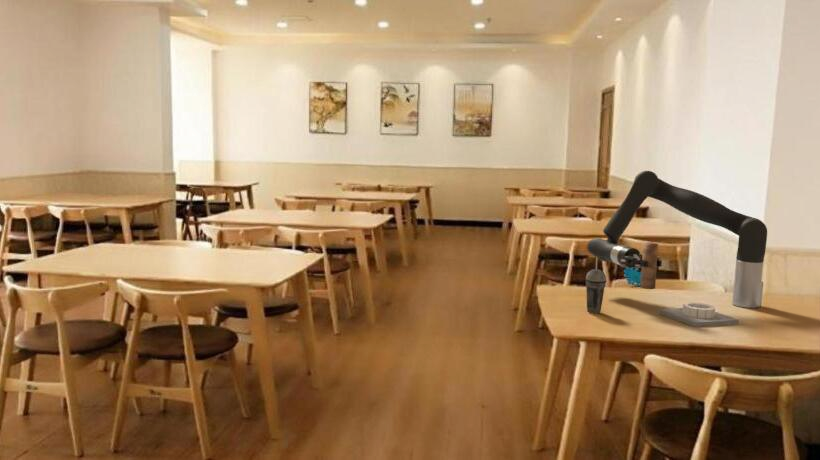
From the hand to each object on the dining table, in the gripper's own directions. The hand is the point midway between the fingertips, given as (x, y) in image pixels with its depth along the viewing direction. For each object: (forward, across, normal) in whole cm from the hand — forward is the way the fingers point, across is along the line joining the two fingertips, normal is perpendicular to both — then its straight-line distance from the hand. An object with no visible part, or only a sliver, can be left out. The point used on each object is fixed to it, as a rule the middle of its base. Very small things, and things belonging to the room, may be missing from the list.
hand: (654, 264), depth 239 cm
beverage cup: (-5, -20, +18) cm, 27 cm away
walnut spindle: (-3, 0, +9) cm, 9 cm away
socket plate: (+10, +12, +18) cm, 24 cm away
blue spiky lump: (-44, +25, +18) cm, 53 cm away
